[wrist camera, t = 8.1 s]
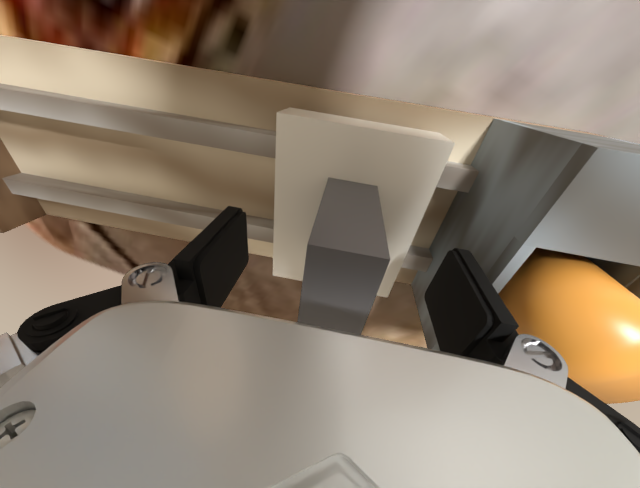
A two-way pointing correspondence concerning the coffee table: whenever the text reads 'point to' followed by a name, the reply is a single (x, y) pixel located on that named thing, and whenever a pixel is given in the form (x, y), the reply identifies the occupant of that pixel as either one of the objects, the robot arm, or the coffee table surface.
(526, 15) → the coffee table surface
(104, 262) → the coffee table surface
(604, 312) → the button
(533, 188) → the rail bed
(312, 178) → the carriage
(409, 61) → the coffee table surface
